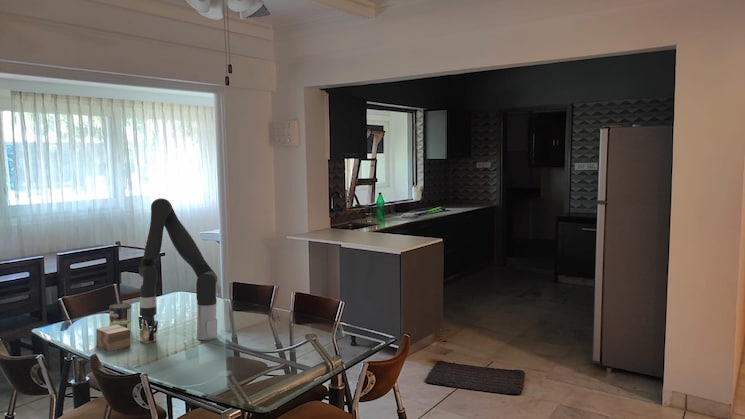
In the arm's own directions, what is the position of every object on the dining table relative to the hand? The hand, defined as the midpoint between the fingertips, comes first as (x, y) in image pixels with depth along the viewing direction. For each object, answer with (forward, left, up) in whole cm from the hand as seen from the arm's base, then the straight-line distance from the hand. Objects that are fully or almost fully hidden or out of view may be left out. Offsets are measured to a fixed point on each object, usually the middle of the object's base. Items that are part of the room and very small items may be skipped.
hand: (147, 339), depth 263 cm
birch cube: (0, 0, -1) cm, 1 cm away
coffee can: (+21, +3, -1) cm, 21 cm away
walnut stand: (+4, +15, -1) cm, 16 cm away
